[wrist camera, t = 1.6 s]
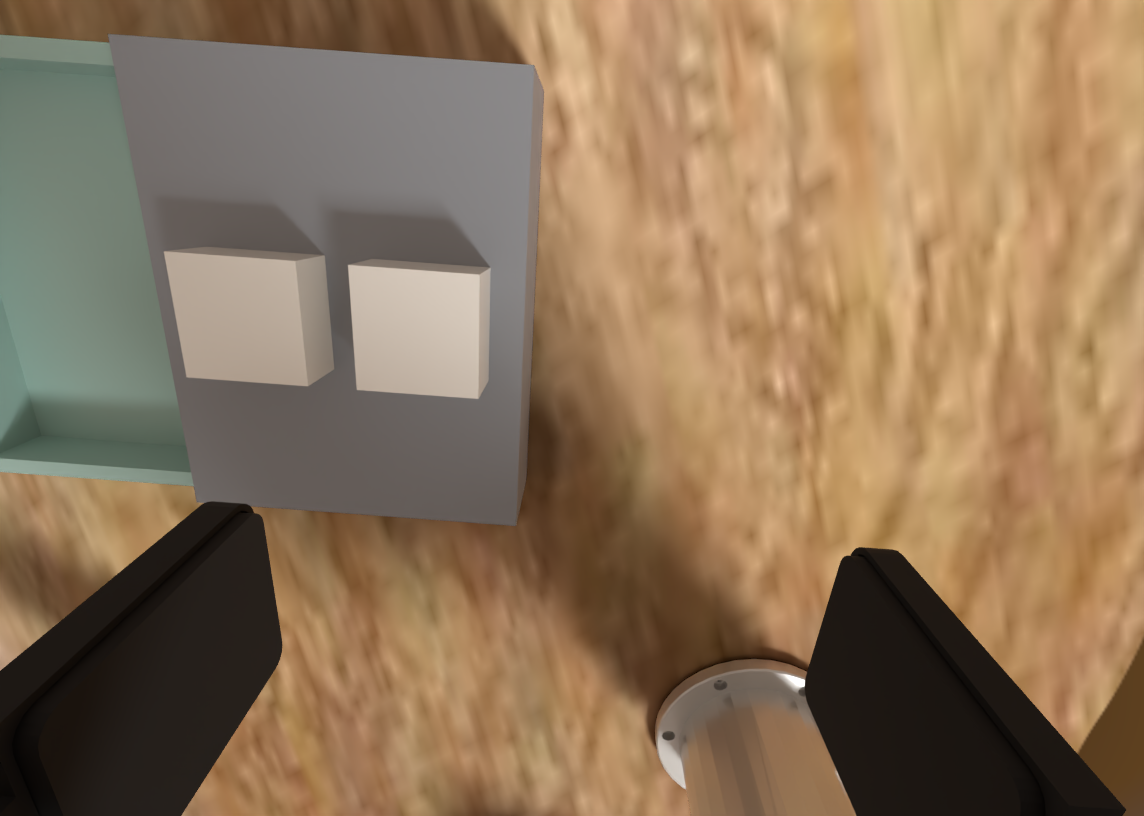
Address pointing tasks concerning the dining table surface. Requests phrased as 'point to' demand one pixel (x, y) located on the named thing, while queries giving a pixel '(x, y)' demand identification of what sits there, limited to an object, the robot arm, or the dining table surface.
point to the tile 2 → (420, 327)
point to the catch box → (77, 279)
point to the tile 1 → (251, 314)
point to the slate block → (345, 256)
